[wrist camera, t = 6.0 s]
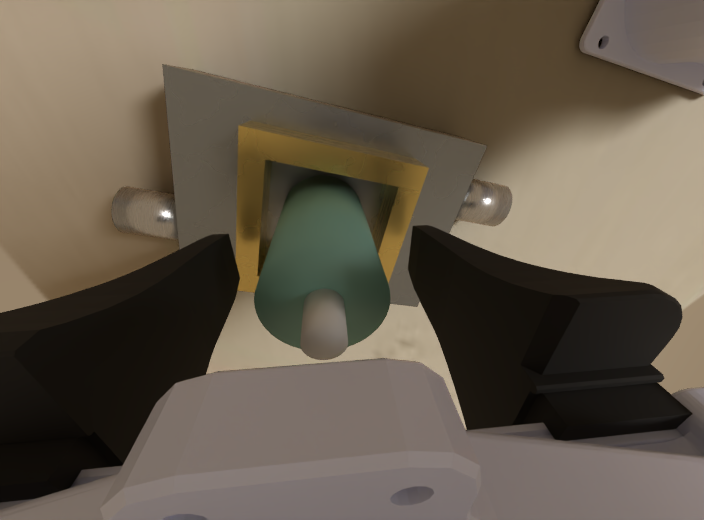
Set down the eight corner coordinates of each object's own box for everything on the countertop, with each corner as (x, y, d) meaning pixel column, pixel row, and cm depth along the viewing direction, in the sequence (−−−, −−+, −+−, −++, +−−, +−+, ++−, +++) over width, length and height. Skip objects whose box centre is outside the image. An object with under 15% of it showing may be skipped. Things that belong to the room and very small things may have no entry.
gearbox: (506, 148, 16) (571, 168, 12) (441, 285, 21) (472, 333, 17) (121, 51, 13) (18, 30, 8) (150, 245, 17) (94, 295, 13)
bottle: (359, 171, 13) (405, 269, 6) (363, 245, 15) (400, 383, 8) (275, 179, 13) (218, 289, 6) (291, 252, 15) (263, 400, 8)
